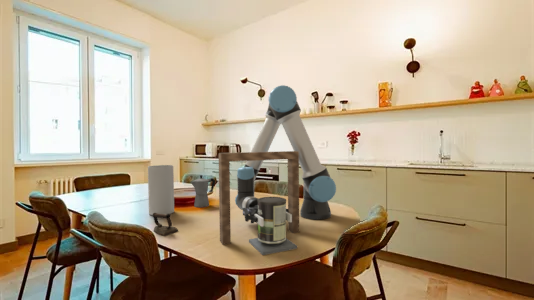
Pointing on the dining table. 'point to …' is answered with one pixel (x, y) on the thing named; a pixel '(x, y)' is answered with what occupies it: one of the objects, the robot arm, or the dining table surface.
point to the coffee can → (272, 220)
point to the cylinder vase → (161, 189)
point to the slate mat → (272, 246)
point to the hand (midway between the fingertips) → (277, 220)
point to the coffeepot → (202, 191)
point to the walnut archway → (252, 156)
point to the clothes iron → (163, 229)
